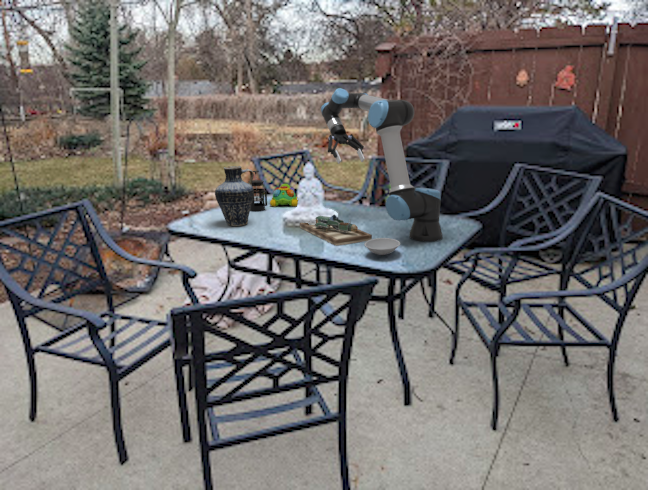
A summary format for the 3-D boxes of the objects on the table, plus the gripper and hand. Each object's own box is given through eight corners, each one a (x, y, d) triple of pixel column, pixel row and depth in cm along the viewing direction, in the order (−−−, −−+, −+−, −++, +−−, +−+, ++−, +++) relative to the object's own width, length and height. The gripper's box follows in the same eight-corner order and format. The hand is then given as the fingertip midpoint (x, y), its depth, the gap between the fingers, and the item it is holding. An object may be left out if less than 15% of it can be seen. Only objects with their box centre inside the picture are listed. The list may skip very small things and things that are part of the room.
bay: (371, 240, 230) (371, 234, 229) (336, 245, 221) (336, 240, 220) (332, 223, 261) (332, 218, 260) (299, 227, 252) (299, 222, 252)
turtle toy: (299, 200, 320) (298, 182, 316) (297, 208, 297) (297, 188, 294) (272, 200, 319) (272, 182, 316) (269, 208, 297) (268, 188, 294)
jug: (228, 231, 246) (225, 170, 238) (210, 224, 261) (206, 166, 252) (264, 224, 259) (261, 166, 250) (244, 218, 273) (241, 163, 265)
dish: (390, 263, 198) (390, 251, 196) (357, 258, 204) (357, 246, 203) (405, 251, 213) (406, 240, 211) (374, 247, 219) (374, 236, 218)
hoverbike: (321, 225, 252) (321, 209, 249) (363, 233, 237) (363, 216, 235) (309, 229, 245) (309, 213, 242) (351, 237, 230) (352, 220, 228)
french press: (245, 210, 291) (243, 171, 284) (253, 207, 299) (251, 169, 292) (262, 212, 286) (261, 172, 279) (270, 209, 294) (269, 170, 288)
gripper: (354, 132, 265) (369, 164, 257) (312, 134, 254) (327, 167, 245) (360, 123, 259) (375, 154, 251) (317, 124, 248) (332, 157, 239)
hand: (351, 161), depth 248 cm, fingers open, 13 cm apart
